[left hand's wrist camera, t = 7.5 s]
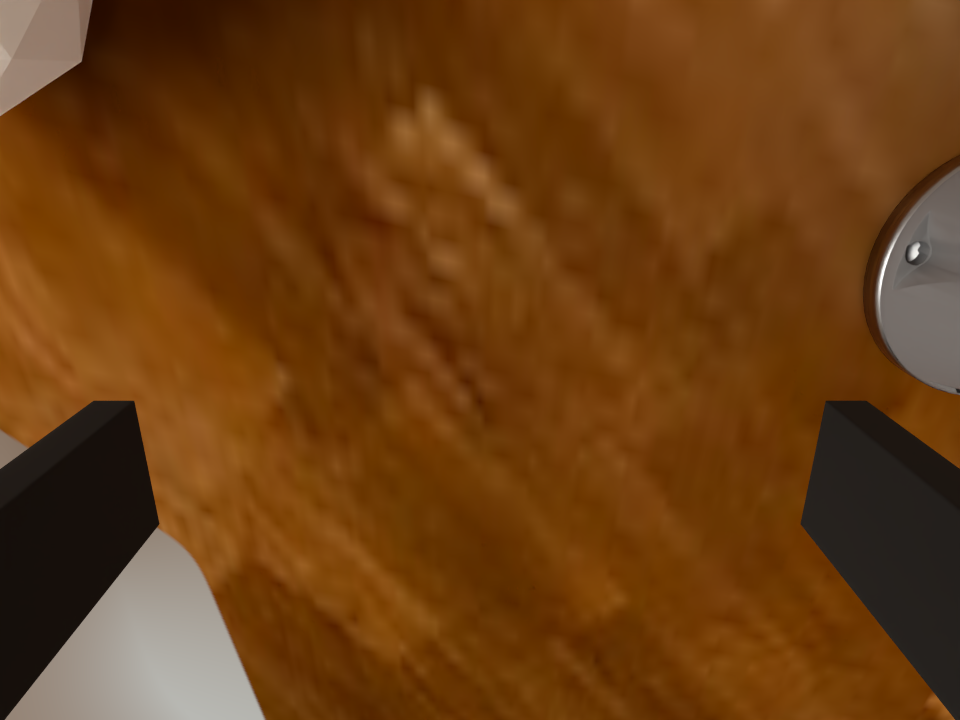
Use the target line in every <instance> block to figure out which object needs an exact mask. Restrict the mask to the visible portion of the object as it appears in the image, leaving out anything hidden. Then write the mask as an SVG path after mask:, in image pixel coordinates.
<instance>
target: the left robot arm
mask: <svg viewBox="0 0 960 720" xmlns="http://www.w3.org/2000/svg"><path fill="white" fill-rule="evenodd" d="M158 525H159V520H158V515H157V510H156V505H155V500H154V495H153V491H152V486H151V481H150V476H149V471H148V466H147V461H146V456H145V452H144V447H143V442H142V437H141V432H140V427H139V422H138V417H137V412H136V408H135V403H134V401H93V402H91V403H90V404H89V405H87V406H86V407H85V408H83V409H82V410H81V411H79V412H78V413H76V414H75V415H74V416H72V417H71V418H70V419H68V420H67V421H65V422H64V423H63V424H61V425H60V426H59V427H57V428H56V429H55V430H53V431H52V432H50V433H49V434H48V435H46V436H45V437H44V438H42V439H41V440H39V441H38V442H37V443H35V444H34V445H33V446H31V447H30V448H29V449H27V450H26V451H24V452H23V453H22V454H20V455H19V456H18V457H16V458H15V459H13V460H12V461H11V462H9V463H8V464H7V465H5V466H4V467H3V468H1V469H0V720H5V719H6V717H7V716H8V715H9V713H10V712H11V711H12V710H13V708H14V707H15V706H16V705H17V703H18V702H19V701H20V700H21V698H22V697H23V696H24V695H25V693H26V692H27V691H28V689H29V688H30V687H31V686H32V684H33V683H34V682H35V681H36V679H37V678H38V677H39V676H40V674H41V673H42V672H43V671H44V669H45V668H46V667H47V665H48V664H49V663H50V662H51V660H52V659H53V658H54V657H55V655H56V654H57V653H58V652H59V650H60V649H61V648H62V646H63V645H64V644H65V643H66V641H67V640H68V639H69V638H70V636H71V635H72V634H73V632H74V631H75V630H76V629H77V628H78V626H79V625H80V624H81V622H82V621H83V620H84V619H85V617H86V616H87V615H88V614H89V612H90V611H91V610H92V609H93V607H94V606H95V605H96V604H97V602H98V601H99V600H100V598H101V597H102V596H103V595H104V593H105V592H106V591H107V590H108V588H109V587H110V586H111V585H112V583H113V582H114V581H115V580H116V578H117V577H118V576H119V574H120V573H121V572H122V571H123V569H124V568H125V567H126V566H127V564H128V563H129V562H130V561H131V559H132V558H133V557H134V555H135V554H136V553H137V552H138V550H139V549H140V548H141V547H142V545H143V544H144V543H145V541H146V540H147V539H148V538H149V537H150V535H151V534H152V533H153V531H154V530H155V529H156V528H157V526H158ZM801 525H802V526H803V528H804V529H805V530H806V531H807V533H808V534H809V535H810V537H811V538H812V539H813V540H814V542H815V543H816V544H817V545H818V547H819V548H820V549H821V550H822V552H823V553H824V554H825V555H826V557H827V558H828V559H829V561H830V562H831V563H832V564H833V566H834V567H835V568H836V569H837V571H838V572H839V573H840V574H841V576H842V577H843V578H844V580H845V581H846V582H847V583H848V585H849V586H850V587H851V588H852V590H853V591H854V592H855V593H856V595H857V596H858V597H859V598H860V600H861V601H862V602H863V604H864V605H865V606H866V607H867V609H868V610H869V611H870V612H871V614H872V615H873V616H874V617H875V619H876V620H877V621H878V622H879V624H880V625H881V626H882V628H883V629H884V630H885V631H886V633H887V634H888V635H889V636H890V638H891V639H892V640H893V641H894V643H895V644H896V645H897V646H898V648H899V649H900V650H901V652H902V653H903V654H904V655H905V657H906V658H907V659H908V660H909V662H910V663H911V664H912V665H913V667H914V668H915V669H916V671H917V672H918V673H919V674H920V676H921V677H922V678H923V679H924V681H925V682H926V683H927V684H928V686H929V687H930V688H931V689H932V691H933V692H934V693H935V695H936V696H937V697H938V698H939V700H940V701H941V702H942V703H943V705H944V706H945V707H946V708H947V710H948V711H949V712H950V713H951V715H952V716H953V717H954V719H955V720H960V469H959V468H958V467H956V466H955V465H953V464H952V463H951V462H949V461H948V460H947V459H945V458H944V457H942V456H941V455H940V454H938V453H937V452H936V451H934V450H933V449H931V448H930V447H929V446H927V445H926V444H925V443H923V442H922V441H921V440H919V439H918V438H916V437H915V436H914V435H912V434H911V433H910V432H908V431H907V430H905V429H904V428H903V427H901V426H900V425H899V424H897V423H896V422H895V421H893V420H892V419H890V418H889V417H888V416H886V415H885V414H884V413H882V412H881V411H879V410H878V409H877V408H875V407H874V406H873V405H871V404H870V403H868V402H867V401H826V403H825V408H824V412H823V417H822V422H821V427H820V432H819V437H818V442H817V447H816V452H815V456H814V461H813V466H812V471H811V476H810V481H809V486H808V491H807V495H806V500H805V505H804V510H803V515H802V520H801Z"/></svg>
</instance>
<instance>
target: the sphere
mask: <svg viewBox="0 0 960 720" xmlns="http://www.w3.org/2000/svg"><path fill="white" fill-rule="evenodd" d="M92 1H93V0H0V116H1V115H2V114H4V113H5V112H7V111H8V110H10V109H11V108H13V107H14V106H16V105H17V104H19V103H20V102H22V101H23V100H25V99H26V98H28V97H29V96H31V95H32V94H34V93H35V92H37V91H38V90H40V89H41V88H43V87H44V86H46V85H47V84H49V83H50V82H52V81H53V80H55V79H56V78H58V77H59V76H61V75H62V74H64V73H65V72H67V71H68V70H70V69H71V68H73V67H74V66H76V65H77V64H79V63H80V62H82V57H83V51H84V46H85V40H86V34H87V29H88V23H89V18H90V12H91V7H92Z"/></svg>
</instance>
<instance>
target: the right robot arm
mask: <svg viewBox="0 0 960 720" xmlns="http://www.w3.org/2000/svg"><path fill="white" fill-rule="evenodd" d="M863 302H864V311H865V316H866V320H867V324H868V327H869V330H870V333H871V335H872V337H873V339H874V341H875V342H876V344H877V345H878V347H879V349H880V350H881V351H882V352H883V354H884V355H885V356H886V357H887V358H888V359H889V360H890V361H891V362H892V363H893V364H894V365H896V366H897V367H898V368H900V369H901V370H903V371H904V372H906V373H908V374H909V375H911V376H913V377H914V378H916V379H918V380H919V381H921V382H923V383H925V384H926V385H928V386H931V387H933V388H935V389H938V390H941V391H944V392H948V393H952V394H958V395H960V156H958V157H956V158H954V159H952V160H950V161H948V162H947V163H945V164H944V165H942V166H940V167H939V168H937V169H936V170H935V171H933V172H932V173H931V174H929V175H928V176H927V177H926V178H924V179H923V180H922V181H921V182H920V183H918V184H917V185H916V186H915V187H914V188H913V189H912V190H911V191H910V192H909V193H908V194H907V195H906V196H905V198H904V199H903V200H902V201H901V202H900V203H899V204H898V206H897V207H896V208H895V210H894V211H893V212H892V214H891V215H890V217H889V218H888V220H887V221H886V223H885V225H884V226H883V228H882V229H881V231H880V233H879V235H878V237H877V239H876V241H875V244H874V246H873V249H872V251H871V254H870V257H869V261H868V264H867V268H866V273H865V278H864V288H863Z"/></svg>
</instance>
